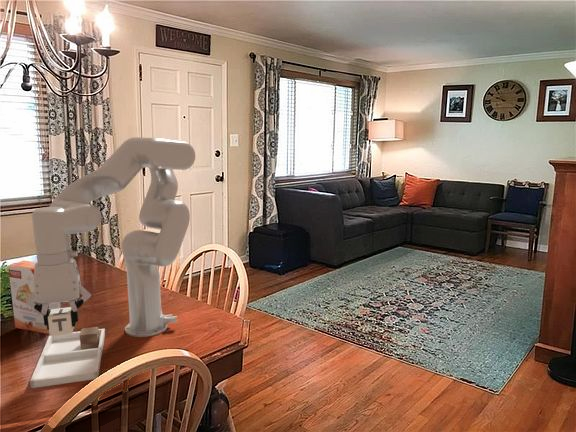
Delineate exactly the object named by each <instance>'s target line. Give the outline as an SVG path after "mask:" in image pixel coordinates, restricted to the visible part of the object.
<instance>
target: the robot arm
mask: <svg viewBox="0 0 576 432" xmlns="http://www.w3.org/2000/svg"><path fill="white" fill-rule="evenodd" d="M195 160H196V151H195V149H194V147H193V146H192V145H191V144H190V143H189V142H187V141H180V140H172V139H171V140H170V139H166V138H159V137H139V136H137V137H135V136H134V137H133V136H132V137H129V138H127V139H126V140H125V141H123V142H122V143H121V144H120V146H119V147H117V149H115V151H114V152H113V153H112V154H111V155H110V156H109V157H108V158H107V159H106V160H105V162H103V163H102V164H101V166H99V167H98V168H97V169H95V170H94V171H91V172H89V173H88V174H86V175H84V176H82V177H80V178H78V179H77V180H75V181H73V182H72V183H70V184H68V186H66V187H65V188H64V189H63V190H62V191H61V192H60V193H59V194H58V195H57V196H56V197H55V198H54V199H53V200H52V202H50V205H49V206H46V207H45V206H44V207H40V208H36V209H34V211H32V213H31V221H32V229H33V237H34V244H35V245H34V246H35V253H36V259H37V260H36V264H35V269H34V292H33V293H32V294H31V296H30V297H29V299H28V300H27V301H26V304H27V305H29V306H31V307H33V308H34V309H36V310H37V311H39V312H40V313H41V314H42V315H43V318H44V325H45V326H47V330H49V323H48V316H49V314H50V312H51V311H50V310H49V304H50V303H59V302H60V303H65V302H66V303H67V302H68V304H69V307H71V312H70V313H71V321H72V326H73V327H74V328H75V327H76V325H77V322H79V312H78V310H79V309H80V308H81V307H82V305H83V304H84V303H85V302H86V301H89V299H90V298H91V295H92V294H91V292H90V291H88V290H87V289H86V288H85V287H83V286H82V284H81V277H80V273H79V267H78V265H77V262H76V259H75V257H78V251H77V250H73V249H72V248H71V241H70V235H72V234H74V235H75V234H82V233H84V234H85V233H89V232H92V231H94V230H95V229H97V228H98V227H99V226H100V224H101V222H102V217H103V216H102V213H101V211H100V209H99V207H97V206H96V205H94V204H93V203H91V202H92V201H94V200H96V199H99V198H102V197H106V196H110V195H114V194H117V193H119V192H122V191H124V190H125V189H126V188H127V187H128V185H129V184H130V183H131V182H132V181H133V179H134V178H135V177H136V176H137V175H138V174H139V173H140V172H141V170H143V169H144V168H149V172H150V184H149V187H148V190H147V192H146V195H145V197H144V200H143V203H142V206H141V208H140V209H139V214H138V219H139V222H140V224H141V225H142V226H143V227H145V228H149V229H154V230H158V231H159V230H160V231H159V232H155V231H150V230H145V229H144V230H140V229H136V230H131V231H130V232H128V233H127V234H126V235H125V236H124V237H123V239H122V242H121V253H122V258H123V260H124V264H125V269H126V279H127V281H126V282H127V299H128V312H129V315H128V316H129V322H128V324H127V325H126V326H125V327H124V332H125V333H126V335H128V336H130V337H134V338H135V337H136V338H146V337H152V336H156V335H160V334H161V333H165V331H166V330H168V324H170V323H171V324H172V323H178V316H177V315H175V316H173V314H172V313H171V314H166V315H165V314H163V310H162V296H161V295H162V294H161V276H160V275H161V274H160V269H159V267H169V266H170V265H171V264H172V265H173V263H174V262H175V261H176V259H177V258H178V255H179V253H180V251H181V247H182V245H183V241H184V239H185V236H186V233H187V231H188V227H189V225H190V220H191V219H190V215H191V214H190V210H189V207H188V205H187V204H186V203H184V202H183V201H180V200H176V197H177V194H178V193H177V192H178V189H179V186H178V185H179V182H178V179H177V177H176V173H175V172H174V170H176V171H177V170H179V171H185V170H186V171H187V170H189V169H190V168H191V167H193V165H194V164H195ZM80 295H82V296H81V297H80ZM42 304H43V305H42Z"/></svg>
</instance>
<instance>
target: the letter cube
mask: <svg viewBox="0 0 576 432" xmlns="http://www.w3.org/2000/svg"><path fill="white" fill-rule="evenodd" d="M70 312H71V306H68V307H61V308H59V309H51V312H50V314H49V316H48V323H49V331H50V334H49V335H50V336H55V335H62V334H70V333H72V332H74V328H75V327H73V326H72V321H71V313H70Z"/></svg>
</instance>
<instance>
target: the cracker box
mask: <svg viewBox="0 0 576 432" xmlns="http://www.w3.org/2000/svg"><path fill="white" fill-rule="evenodd" d="M36 263H37V261H30V260H20V261H17V262H14V263H10V264H8V266H7V269H8V276H9V284H10V293H11V300H12V310H13V311H12V312H13V319H14V325H15V326H14V327H15V329H19V330H24V331H26V330H27V331H32V332H36V333H39V334H40V333H42V334H46V335H50V331H49V330H47V326H45V325H44V318H43V315H42V314H41V313H40V312H39V311H37V310H36V309H34V308H33V307H31V306H29V305H27V304H26V301H27V300H28V299H29V297H30V296H31V294H32V293H33V292H34V269H35V264H36ZM61 303H62V302H59V303H50V304H49V310H50V311H51V309H59V308H62V304H61ZM42 305H43V304H42Z"/></svg>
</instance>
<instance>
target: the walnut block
mask: <svg viewBox="0 0 576 432" xmlns="http://www.w3.org/2000/svg"><path fill="white" fill-rule="evenodd" d="M99 329H100V328H99V326H93V327H84V328H81V330H80V331H81V332H80V346H81V350H86V349H94V348H98V346H99Z"/></svg>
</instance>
